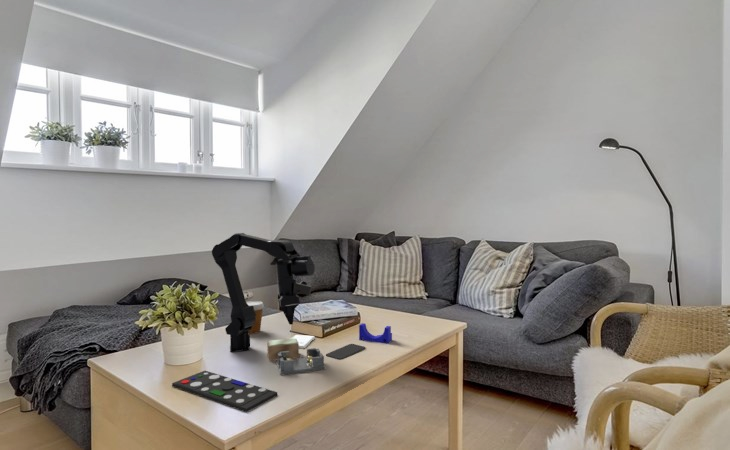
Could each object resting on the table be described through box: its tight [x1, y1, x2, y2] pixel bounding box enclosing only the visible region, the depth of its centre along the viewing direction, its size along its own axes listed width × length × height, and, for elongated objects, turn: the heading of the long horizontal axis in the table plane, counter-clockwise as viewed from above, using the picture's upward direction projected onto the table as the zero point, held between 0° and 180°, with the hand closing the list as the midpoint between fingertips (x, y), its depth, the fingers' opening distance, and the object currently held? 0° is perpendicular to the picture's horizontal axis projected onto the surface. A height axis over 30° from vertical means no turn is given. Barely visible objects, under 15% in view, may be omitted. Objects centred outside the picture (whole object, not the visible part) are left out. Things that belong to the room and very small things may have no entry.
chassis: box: [276, 347, 326, 376], centre depth 136 cm, size 14×10×4 cm
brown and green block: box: [266, 337, 300, 362], centre depth 146 cm, size 10×6×5 cm, turn 107°
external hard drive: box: [290, 334, 316, 349], centre depth 161 cm, size 2×8×12 cm
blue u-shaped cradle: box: [358, 322, 393, 344], centre depth 164 cm, size 12×4×6 cm, turn 68°
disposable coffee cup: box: [246, 300, 265, 335], centre depth 176 cm, size 10×10×12 cm
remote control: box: [171, 370, 278, 413], centre depth 118 cm, size 11×30×2 cm, turn 59°
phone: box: [325, 343, 366, 360], centre depth 151 cm, size 7×1×15 cm
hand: (289, 321), depth 146 cm, fingers open, 9 cm apart
